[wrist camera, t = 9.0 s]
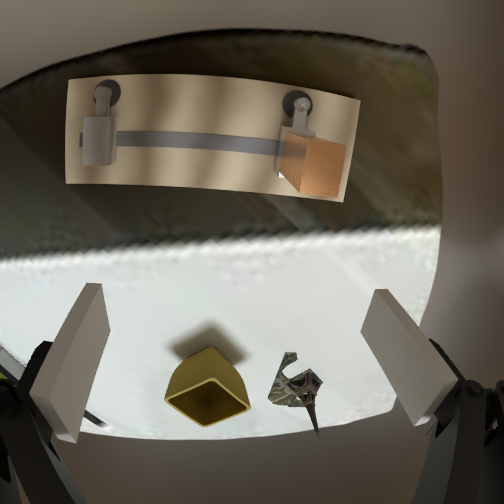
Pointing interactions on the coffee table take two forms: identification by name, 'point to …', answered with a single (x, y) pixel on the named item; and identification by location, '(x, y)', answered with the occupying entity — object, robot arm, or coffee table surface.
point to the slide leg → (308, 156)
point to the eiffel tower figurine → (296, 389)
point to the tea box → (10, 367)
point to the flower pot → (207, 389)
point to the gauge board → (194, 131)
